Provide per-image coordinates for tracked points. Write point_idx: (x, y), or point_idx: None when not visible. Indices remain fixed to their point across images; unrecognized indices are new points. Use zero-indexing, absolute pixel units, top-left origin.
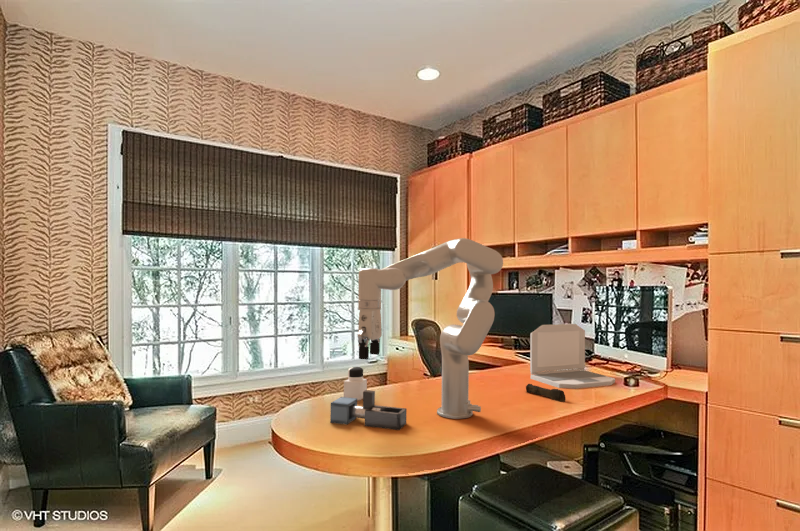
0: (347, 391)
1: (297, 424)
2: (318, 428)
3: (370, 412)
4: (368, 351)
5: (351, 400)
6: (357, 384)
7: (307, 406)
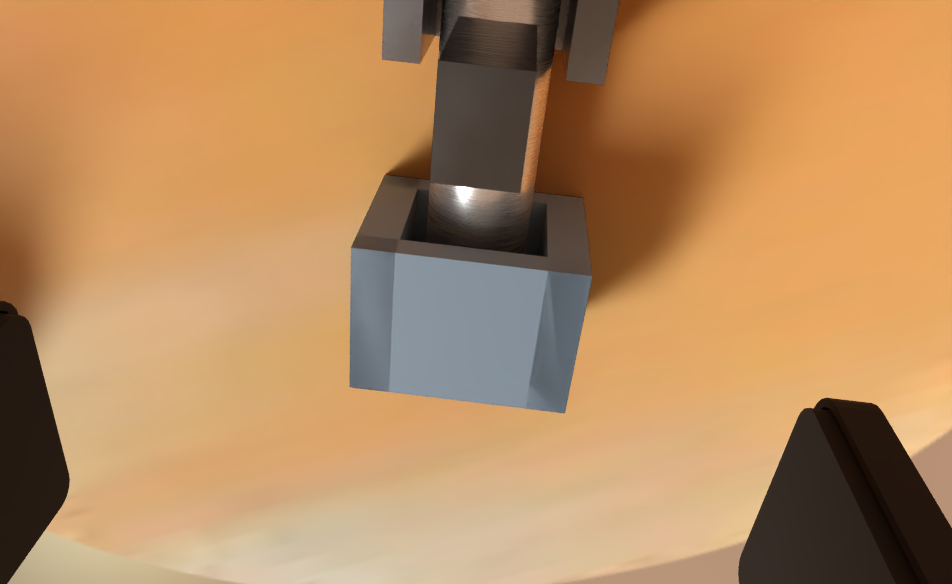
0: None
1: (636, 481)
2: (700, 353)
3: (613, 17)
4: (933, 570)
5: (440, 277)
6: None
7: (263, 533)
